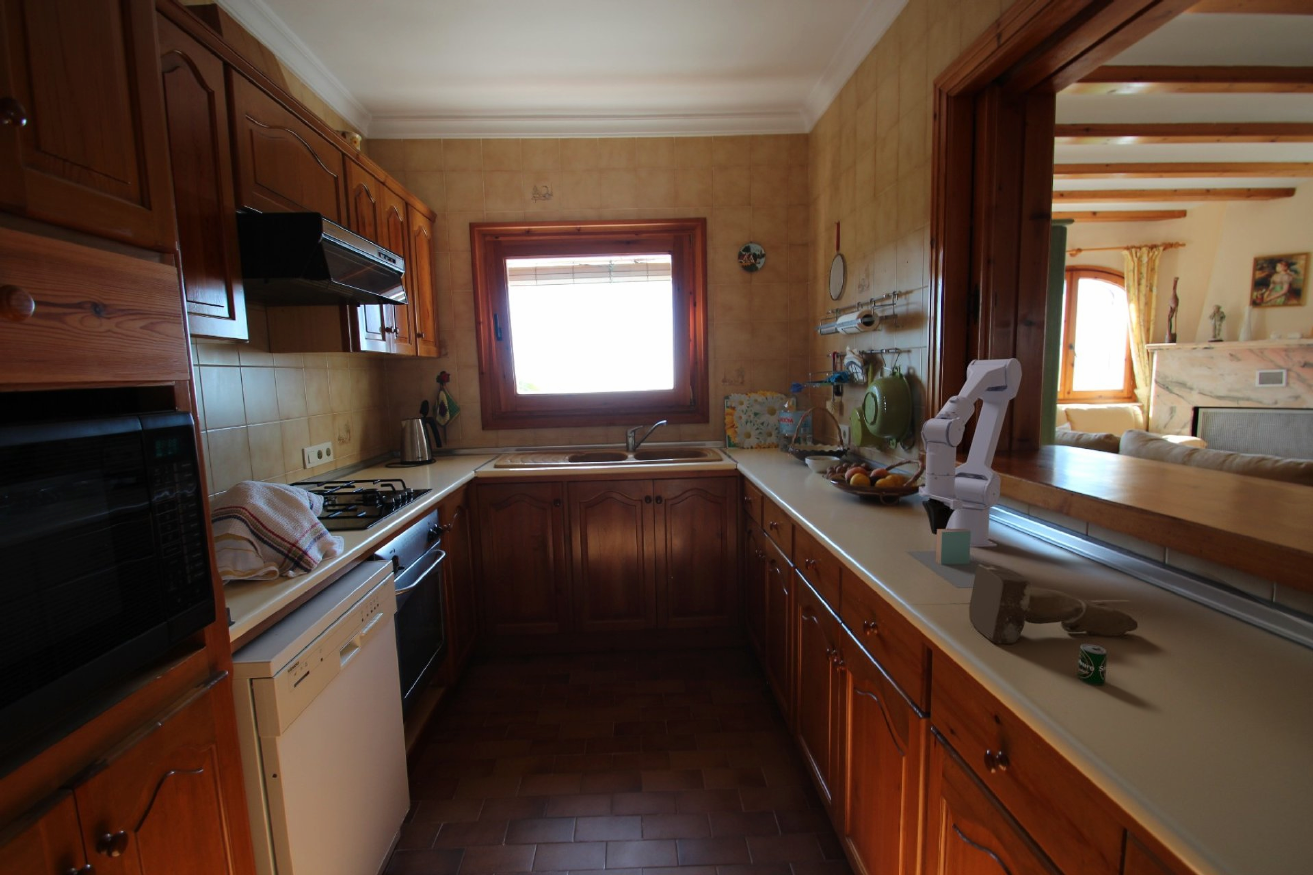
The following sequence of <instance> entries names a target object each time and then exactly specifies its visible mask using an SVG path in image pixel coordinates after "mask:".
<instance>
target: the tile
mask: <svg viewBox="0 0 1313 875" xmlns="http://www.w3.org/2000/svg"><path fill="white" fill-rule="evenodd" d="M970 539H971V531H969V530H967V529H937V535H936V548H935V549H936V550H935V551H936V562H938V563H939V564H969V561H970V555H971V547H970Z"/></svg>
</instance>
